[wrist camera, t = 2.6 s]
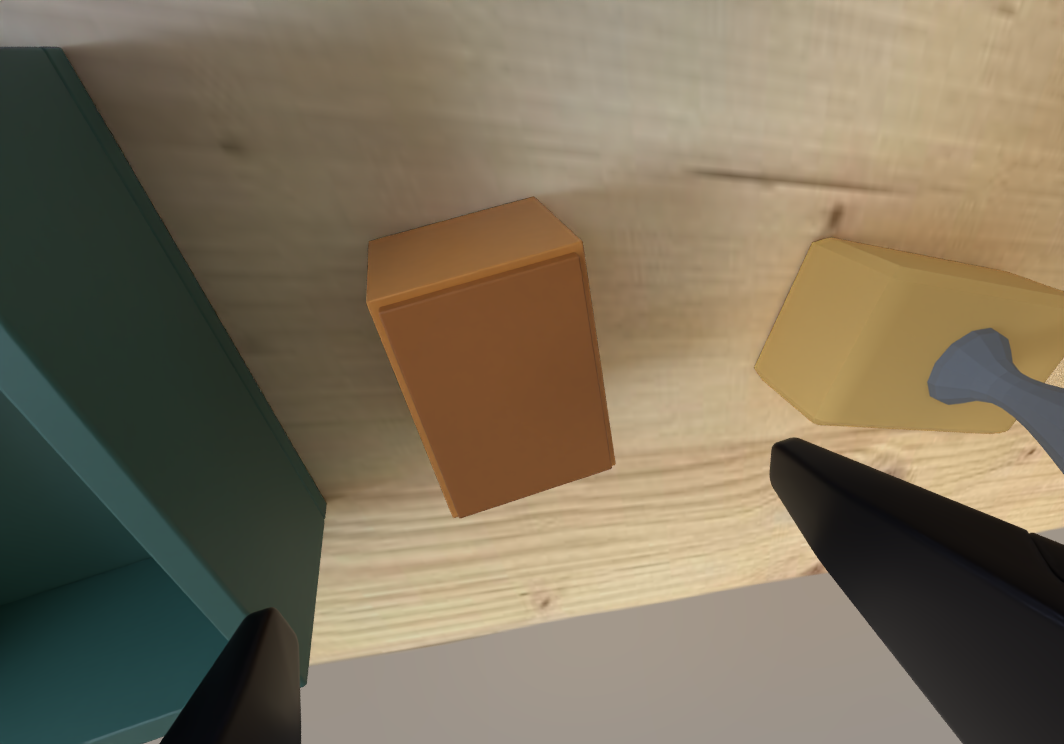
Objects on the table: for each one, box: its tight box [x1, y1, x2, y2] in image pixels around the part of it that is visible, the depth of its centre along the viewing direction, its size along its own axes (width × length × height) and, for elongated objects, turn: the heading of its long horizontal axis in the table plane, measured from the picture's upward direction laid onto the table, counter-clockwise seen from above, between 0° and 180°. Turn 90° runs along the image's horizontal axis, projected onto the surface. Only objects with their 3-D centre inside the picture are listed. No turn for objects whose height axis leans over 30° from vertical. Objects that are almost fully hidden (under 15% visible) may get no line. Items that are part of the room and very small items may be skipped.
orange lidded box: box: [366, 197, 615, 518], centre depth 16 cm, size 5×7×5 cm
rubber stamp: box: [754, 237, 1064, 474], centre depth 17 cm, size 10×6×12 cm, turn 77°
